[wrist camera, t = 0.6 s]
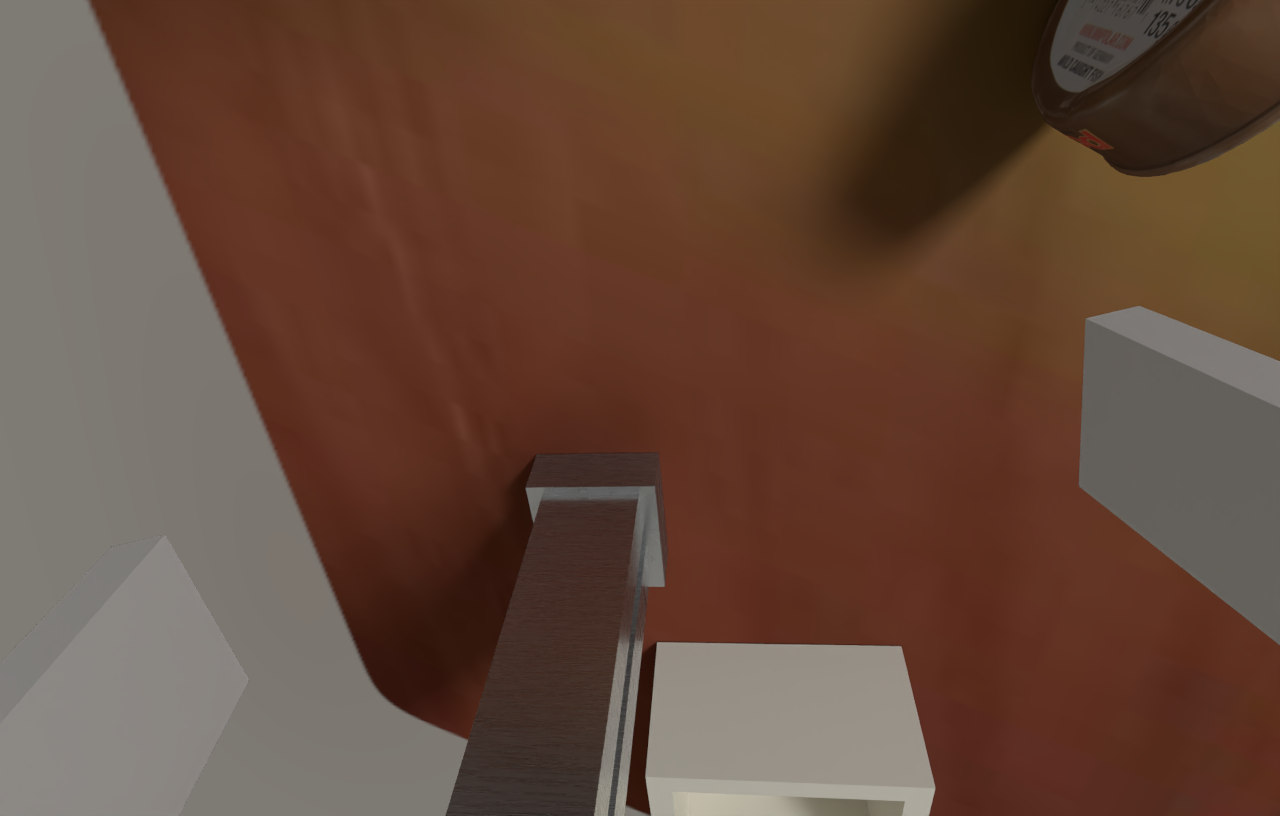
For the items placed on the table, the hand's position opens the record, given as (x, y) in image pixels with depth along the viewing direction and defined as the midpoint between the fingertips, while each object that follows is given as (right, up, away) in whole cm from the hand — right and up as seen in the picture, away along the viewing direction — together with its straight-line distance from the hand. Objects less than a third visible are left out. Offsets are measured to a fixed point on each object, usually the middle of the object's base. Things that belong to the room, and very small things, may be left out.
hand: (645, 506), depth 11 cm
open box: (+7, -14, +26) cm, 31 cm away
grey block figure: (-1, -3, +20) cm, 20 cm away
